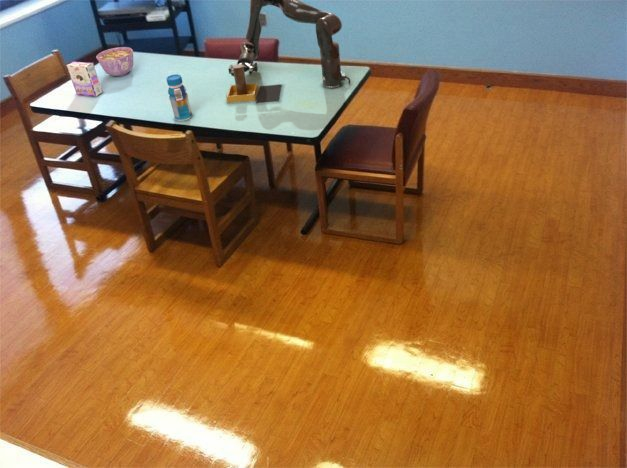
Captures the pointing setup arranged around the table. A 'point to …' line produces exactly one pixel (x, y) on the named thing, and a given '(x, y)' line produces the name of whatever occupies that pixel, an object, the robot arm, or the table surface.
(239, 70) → the brown cylinder
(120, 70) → the bowl of food
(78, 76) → the candy box
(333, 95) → the table surface
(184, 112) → the beverage bottle
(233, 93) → the bin
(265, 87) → the mat
